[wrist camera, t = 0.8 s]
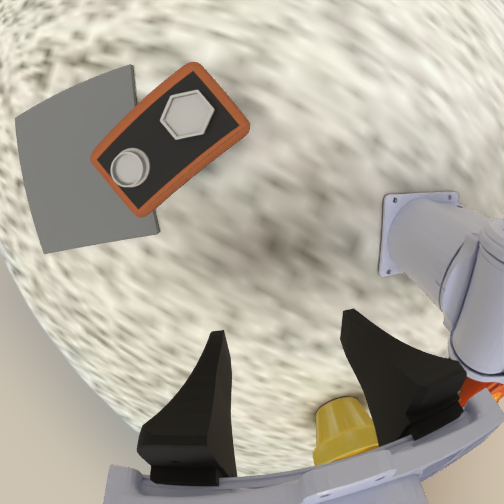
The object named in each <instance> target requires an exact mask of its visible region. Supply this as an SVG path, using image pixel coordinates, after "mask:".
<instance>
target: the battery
mask: <svg viewBox="0 0 504 504" xmlns="http://www.w3.org/2000/svg"><path fill="white" fill-rule="evenodd" d="M249 130H250V123H249V121H248V120H247V118H246V117H245V116H244V115H243V113H242V112H241V111H240V110H239V108H238V107H237V106H236V105H235V103H234V102H233V101H232V100H231V99H230V97H229V96H228V95H227V94H226V93H225V92H224V90H223V89H222V88H221V87H220V86H219V84H218V83H217V82H216V81H215V80H214V79H213V78H212V76H211V75H210V74H209V73H208V72H207V71H206V70H205V69H204V67H203V66H202V65H201V64H199V63H197V62H190V63H187V64H186V65H184V66H183V67H181V68H180V69H179V70H177V71H176V72H175V73H174V74H172V75H171V76H170V77H169V78H167V79H166V80H165V81H164V82H162V83H161V84H160V85H159V86H158V87H156V88H155V89H154V90H153V91H152V92H151V93H150V94H148V95H147V96H146V97H145V98H144V99H143V100H142V101H141V102H140V103H138V104H137V105H136V106H135V107H134V108H133V109H132V110H131V111H130V112H129V113H128V114H127V115H126V116H125V117H124V118H123V119H122V120H121V121H120V122H119V123H118V124H117V125H116V126H115V127H114V128H113V129H112V130H111V131H110V132H109V133H108V134H107V135H106V136H105V137H104V139H103V140H102V141H101V142H100V143H99V144H98V145H97V146H96V148H95V149H94V150H93V152H92V153H91V156H90V160H91V163H92V164H93V165H94V167H95V168H96V169H97V171H98V172H99V173H100V174H101V176H102V177H103V178H104V179H105V180H106V182H107V183H108V184H109V185H110V186H111V188H112V189H113V190H114V191H115V192H116V194H117V195H118V196H119V197H120V198H121V200H122V201H123V202H124V203H125V204H126V205H127V207H128V208H129V209H130V210H131V211H132V212H133V213H134V215H135V216H137V217H139V218H143V217H146V216H147V215H149V214H150V213H151V212H153V211H154V210H155V209H156V208H157V207H158V206H159V205H161V204H162V203H163V202H164V201H165V200H166V199H167V198H168V197H170V196H171V195H172V194H173V193H174V192H175V191H177V190H178V189H179V188H180V187H181V186H182V185H184V184H185V183H186V182H187V181H188V180H190V179H191V178H192V177H193V176H194V175H196V174H197V173H198V172H199V171H201V170H202V169H203V168H204V167H206V166H207V165H208V164H209V163H211V162H212V161H213V160H214V159H216V158H217V157H218V156H220V155H221V154H222V153H223V152H225V151H226V150H227V149H229V148H230V147H231V146H233V145H234V144H235V143H237V142H238V141H239V140H241V139H242V138H243V137H245V136H246V135H247V134H248V132H249Z"/></svg>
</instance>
